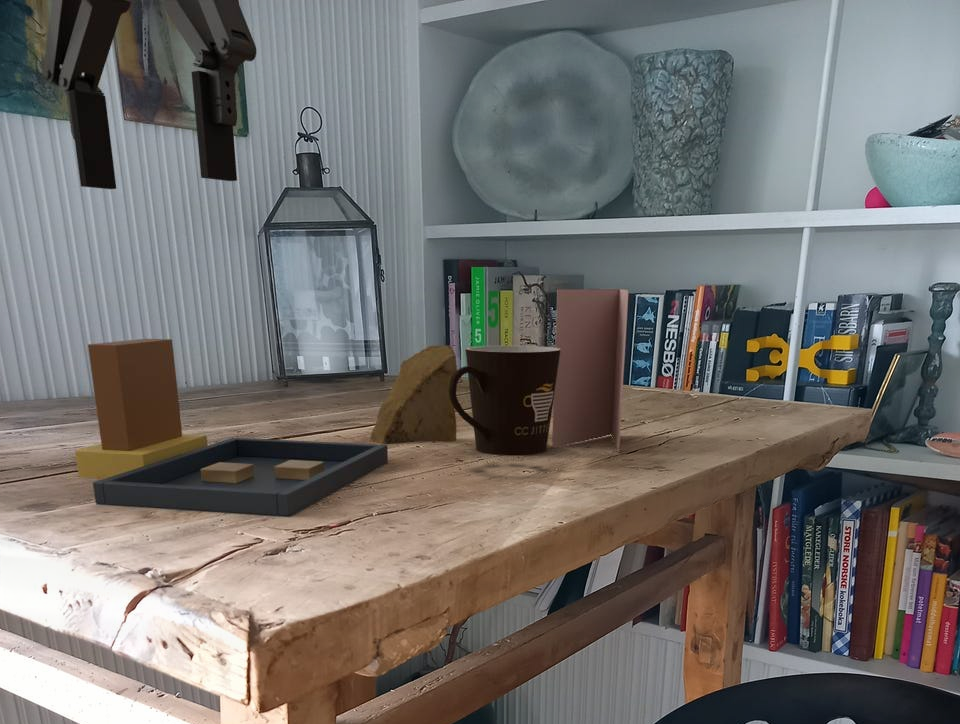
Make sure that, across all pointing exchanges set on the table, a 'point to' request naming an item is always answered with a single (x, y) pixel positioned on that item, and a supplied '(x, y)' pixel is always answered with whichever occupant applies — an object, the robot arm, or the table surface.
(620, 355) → the greeting card
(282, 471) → the chip
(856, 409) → the table surface
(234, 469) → the chip
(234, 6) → the robot arm
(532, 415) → the coffee mug
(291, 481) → the tray
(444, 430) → the rock
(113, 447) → the sponge
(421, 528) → the table surface
